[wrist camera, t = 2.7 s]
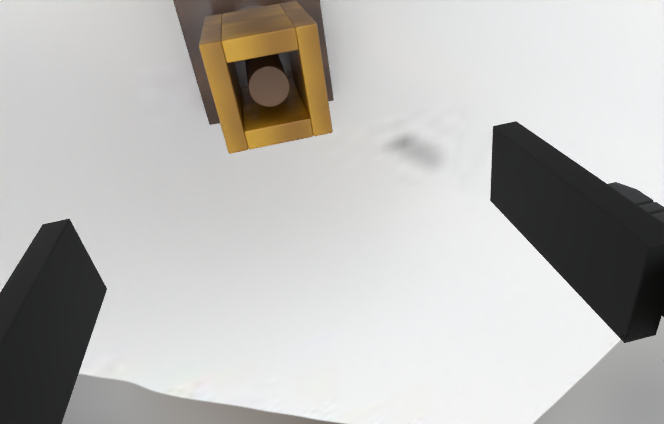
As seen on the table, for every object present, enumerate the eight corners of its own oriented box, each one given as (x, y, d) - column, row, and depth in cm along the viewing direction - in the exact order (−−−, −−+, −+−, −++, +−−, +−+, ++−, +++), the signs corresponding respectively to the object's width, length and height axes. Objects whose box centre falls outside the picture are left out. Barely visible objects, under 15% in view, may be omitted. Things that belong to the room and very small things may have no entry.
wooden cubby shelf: (228, 105, 36) (228, 154, 28) (204, 16, 33) (198, 45, 25) (310, 89, 37) (332, 132, 29) (296, 0, 33) (316, 23, 26)
